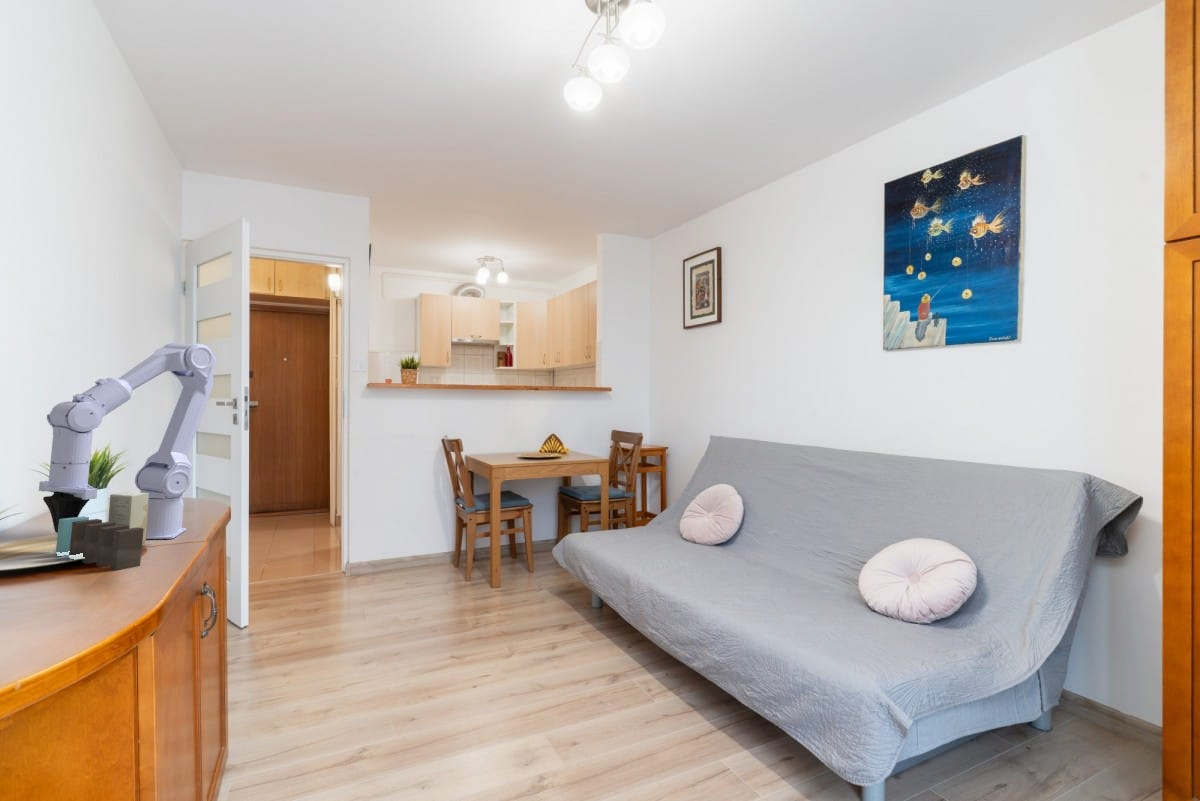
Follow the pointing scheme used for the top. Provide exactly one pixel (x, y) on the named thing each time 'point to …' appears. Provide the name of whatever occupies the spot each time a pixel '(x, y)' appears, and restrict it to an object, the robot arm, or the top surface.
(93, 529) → the tile
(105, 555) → the tile
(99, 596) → the top surface
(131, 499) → the box
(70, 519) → the lead tile
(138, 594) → the top surface
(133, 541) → the tile
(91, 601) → the top surface
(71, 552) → the tile
